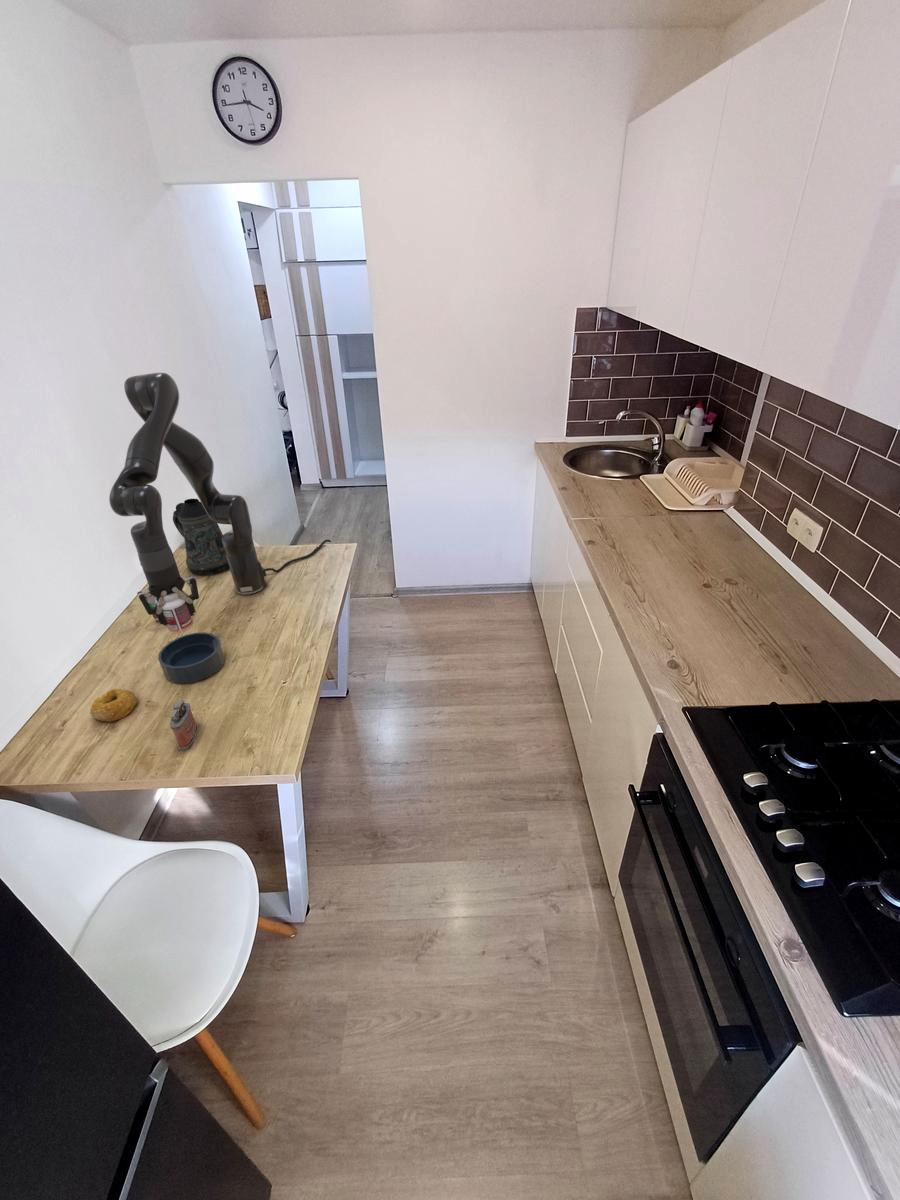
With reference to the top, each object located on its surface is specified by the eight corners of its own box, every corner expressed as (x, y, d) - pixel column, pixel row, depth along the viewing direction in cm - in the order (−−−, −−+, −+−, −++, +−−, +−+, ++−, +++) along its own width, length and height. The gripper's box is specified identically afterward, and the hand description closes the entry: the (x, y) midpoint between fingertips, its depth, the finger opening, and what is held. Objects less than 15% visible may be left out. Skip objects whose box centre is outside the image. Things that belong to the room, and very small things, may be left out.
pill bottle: (192, 618, 154) (180, 583, 148) (195, 629, 149) (182, 594, 144) (168, 624, 152) (155, 589, 146) (169, 636, 147) (156, 600, 141)
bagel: (147, 697, 148) (141, 683, 145) (118, 727, 139) (111, 713, 136) (114, 693, 150) (108, 679, 147) (84, 722, 141) (76, 708, 138)
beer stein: (227, 575, 201) (208, 509, 188) (173, 578, 201) (150, 512, 188) (241, 553, 215) (224, 491, 202) (190, 556, 215) (170, 493, 202)
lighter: (187, 726, 138) (174, 695, 133) (201, 725, 138) (189, 693, 133) (176, 751, 131) (162, 719, 126) (191, 750, 131) (178, 718, 126)
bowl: (215, 642, 167) (210, 625, 164) (233, 669, 156) (227, 651, 153) (159, 664, 159) (152, 647, 156) (173, 693, 148) (166, 675, 145)
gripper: (130, 578, 134) (152, 635, 143) (192, 559, 141) (210, 615, 150) (124, 566, 140) (146, 622, 149) (184, 548, 147) (202, 603, 155)
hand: (178, 618), depth 149 cm, fingers closed on pill bottle, 6 cm apart
